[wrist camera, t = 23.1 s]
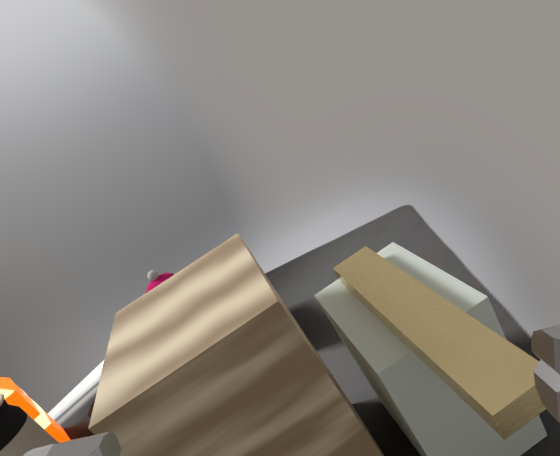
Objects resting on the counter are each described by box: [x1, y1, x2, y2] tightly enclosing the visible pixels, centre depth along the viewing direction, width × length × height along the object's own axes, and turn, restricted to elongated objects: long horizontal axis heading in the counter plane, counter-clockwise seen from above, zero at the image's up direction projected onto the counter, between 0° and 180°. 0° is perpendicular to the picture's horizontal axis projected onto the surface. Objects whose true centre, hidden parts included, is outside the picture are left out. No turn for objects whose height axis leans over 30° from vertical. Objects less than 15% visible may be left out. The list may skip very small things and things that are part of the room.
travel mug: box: [0, 394, 59, 456], centre depth 63 cm, size 8×8×18 cm
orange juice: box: [0, 377, 70, 443], centre depth 73 cm, size 8×9×20 cm
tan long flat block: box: [333, 246, 546, 440], centre depth 33 cm, size 22×4×2 cm, turn 17°
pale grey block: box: [314, 242, 547, 456], centre depth 41 cm, size 14×10×16 cm
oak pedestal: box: [88, 234, 384, 456], centre depth 39 cm, size 16×14×26 cm
